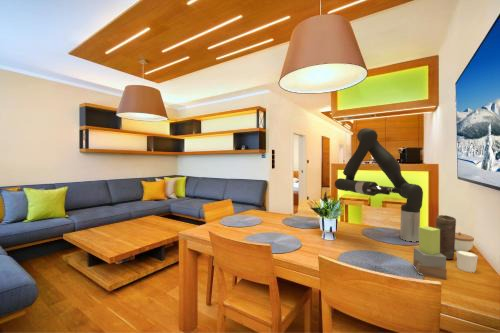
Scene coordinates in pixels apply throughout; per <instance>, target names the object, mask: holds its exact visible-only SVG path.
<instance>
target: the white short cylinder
mask: <svg viewBox="0 0 500 333" xmlns="http://www.w3.org/2000/svg"><path fill="white" fill-rule="evenodd" d="M455 254H456V255H455V257H456V265H457V266H456V267H457V269H458V270H460V271H463V272H467V273H472V272H473V273H476V270H477V269H476V268H477V264H478V258H479V255H478V254H476V253H474V252H471V251H455Z"/></svg>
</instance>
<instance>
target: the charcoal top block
mask: <svg viewBox="0 0 500 333" xmlns="http://www.w3.org/2000/svg"><path fill="white" fill-rule="evenodd" d="M413 256H414V258H415V259H416V260H417V261H418V262H419V263H420V264H421V265H423V266H428V267H439V268H446V269H447V259H446V257H445V256H444V255H442V254H441V253H438V254H434V255H431V254H428V253H425V252H422V251H419V247H413Z"/></svg>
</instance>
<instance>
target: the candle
mask: <svg viewBox="0 0 500 333" xmlns="http://www.w3.org/2000/svg"><path fill="white" fill-rule="evenodd" d="M435 221H436V222H435V228H437V229H440V253H441V254H442V255H444V256H445V257H446V260H449V259H451V260H452V259H453V258H455V251H454V249H455V233H456V228H457V227H456V226H457V219H456V218H455V217H453V216H450V215H446V214H445V215H442V214H440V215H437V216H436V219H435Z"/></svg>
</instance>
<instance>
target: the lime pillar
mask: <svg viewBox="0 0 500 333" xmlns="http://www.w3.org/2000/svg"><path fill="white" fill-rule="evenodd" d="M418 248H419V251H422V252H425V253H428V254H431V255H434V254H438V253H440V229H437V228H436V227H432V226H427V225H426V226H420V227H419V242H418Z"/></svg>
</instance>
